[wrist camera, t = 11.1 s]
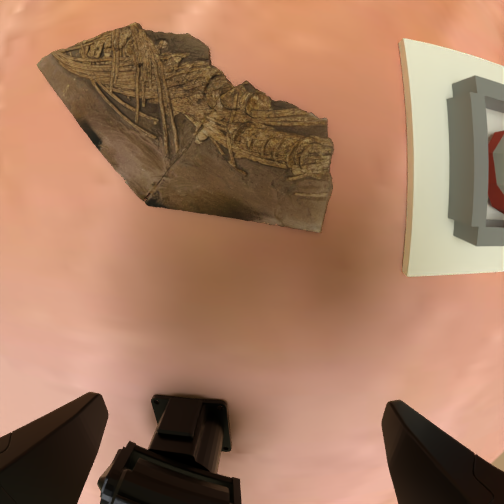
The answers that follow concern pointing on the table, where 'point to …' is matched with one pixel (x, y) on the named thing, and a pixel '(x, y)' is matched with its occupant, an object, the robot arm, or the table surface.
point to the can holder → (450, 161)
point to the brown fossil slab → (194, 129)
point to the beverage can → (496, 171)
